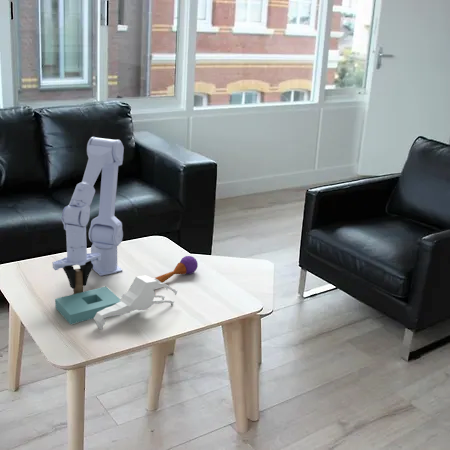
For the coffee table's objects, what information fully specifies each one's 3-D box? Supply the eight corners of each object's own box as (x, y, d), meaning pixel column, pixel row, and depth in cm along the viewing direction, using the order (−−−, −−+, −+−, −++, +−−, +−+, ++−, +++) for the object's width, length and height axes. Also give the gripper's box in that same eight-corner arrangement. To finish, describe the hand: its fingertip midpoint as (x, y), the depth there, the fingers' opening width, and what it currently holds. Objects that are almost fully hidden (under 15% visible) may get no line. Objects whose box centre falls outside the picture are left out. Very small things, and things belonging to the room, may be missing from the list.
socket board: (55, 307, 184) (55, 298, 183) (106, 295, 193) (105, 286, 192) (70, 324, 176) (70, 315, 175) (122, 310, 185) (122, 301, 184)
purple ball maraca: (143, 274, 200) (186, 252, 213) (146, 291, 201) (189, 268, 215) (155, 277, 196) (199, 254, 210) (159, 294, 197) (202, 271, 211)
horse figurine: (153, 328, 194) (87, 325, 175) (169, 278, 192) (105, 269, 174) (163, 334, 190) (97, 332, 172) (180, 283, 189) (115, 275, 170)
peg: (71, 293, 193) (70, 269, 190) (81, 291, 195) (80, 267, 192) (75, 297, 191) (74, 273, 188) (85, 295, 193) (84, 271, 190)
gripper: (58, 254, 180) (60, 296, 185) (105, 244, 188) (106, 285, 193) (48, 245, 185) (51, 287, 190) (95, 236, 193) (96, 276, 198)
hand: (78, 286), depth 192 cm, fingers closed on peg, 3 cm apart
